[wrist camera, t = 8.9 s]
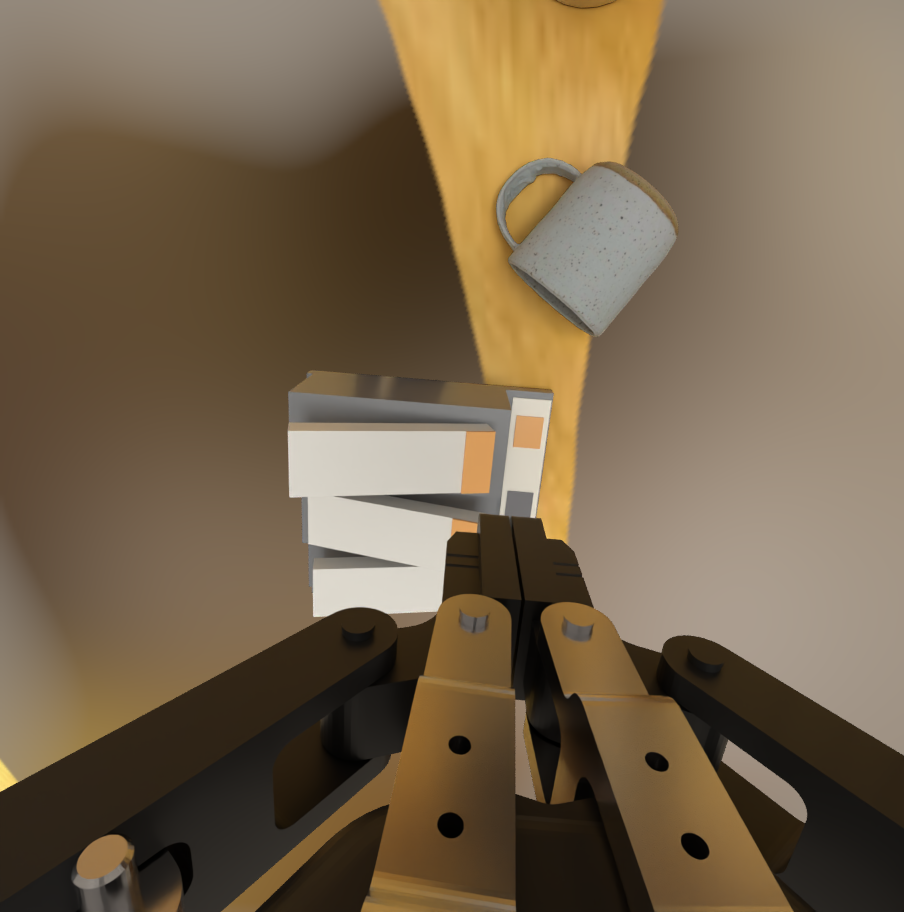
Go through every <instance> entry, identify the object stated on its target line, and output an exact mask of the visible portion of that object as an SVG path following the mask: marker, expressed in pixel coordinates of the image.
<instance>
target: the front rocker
mask: <svg viewBox="0 0 904 912" xmlns="http://www.w3.org/2000/svg"><path fill="white" fill-rule="evenodd" d="M495 434H496V432H495V431H494V430H493V429H492V428H491V427H490V426H489V425H488V424H451V423H289V426H288V456H289V497H323V496H361V495H398V494H436V493H461V494H473V493H489V489H490V480H491V471H492V461H493V452H494V443H495Z"/></svg>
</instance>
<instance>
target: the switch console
mask: <svg viewBox="0 0 904 912" xmlns="http://www.w3.org/2000/svg"><path fill="white" fill-rule="evenodd" d="M288 394H289V423H451V424H488V425H489V426H490V427H491V428H492V429H493V430H494V431H495V432H496V434H495V443H494V452H493V461H492V471H491V480H490V489H489V493H473V494H461V493H436V494H398V495H386V496H392V497H398V498H403V499H409V500H414V501H420V502H426V503H431V504H437V505H442V506H448V507H453V508H459V509H465V510H470V511H476V512H481V513H485V514H493V515H504V516H509V519H510V517H511V516H517V517H529V518H536V514H537V507H538V500H539V493H540V486H541V479H542V472H543V465H544V458H545V451H546V444H547V437H548V430H549V423H550V416H551V409H552V402H553V395H554V393H553V392H552V390H546V389H534V388H522V387H510V386H498V385H486V384H474V383H461V382H449V381H437V380H425V379H413V378H401V377H389V376H377V375H364V374H352V373H341V372H329V371H317V370H311V371H309V372H308V373H307V379H305V380H304V381H303V382H301V383H300V384H298V385H297V386H296V387H294V388H293V389H292V390H290V391H289V392H288ZM302 542H303V543H308V497H302ZM308 547H309V586H311V587H312V593H313V564H314V558H340V557H370V556H365V555H360V554H355V553H350V552H345V551H340V550H335V549H330V548H326V547H321V546H316V545H311V544H309V545H308Z"/></svg>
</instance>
